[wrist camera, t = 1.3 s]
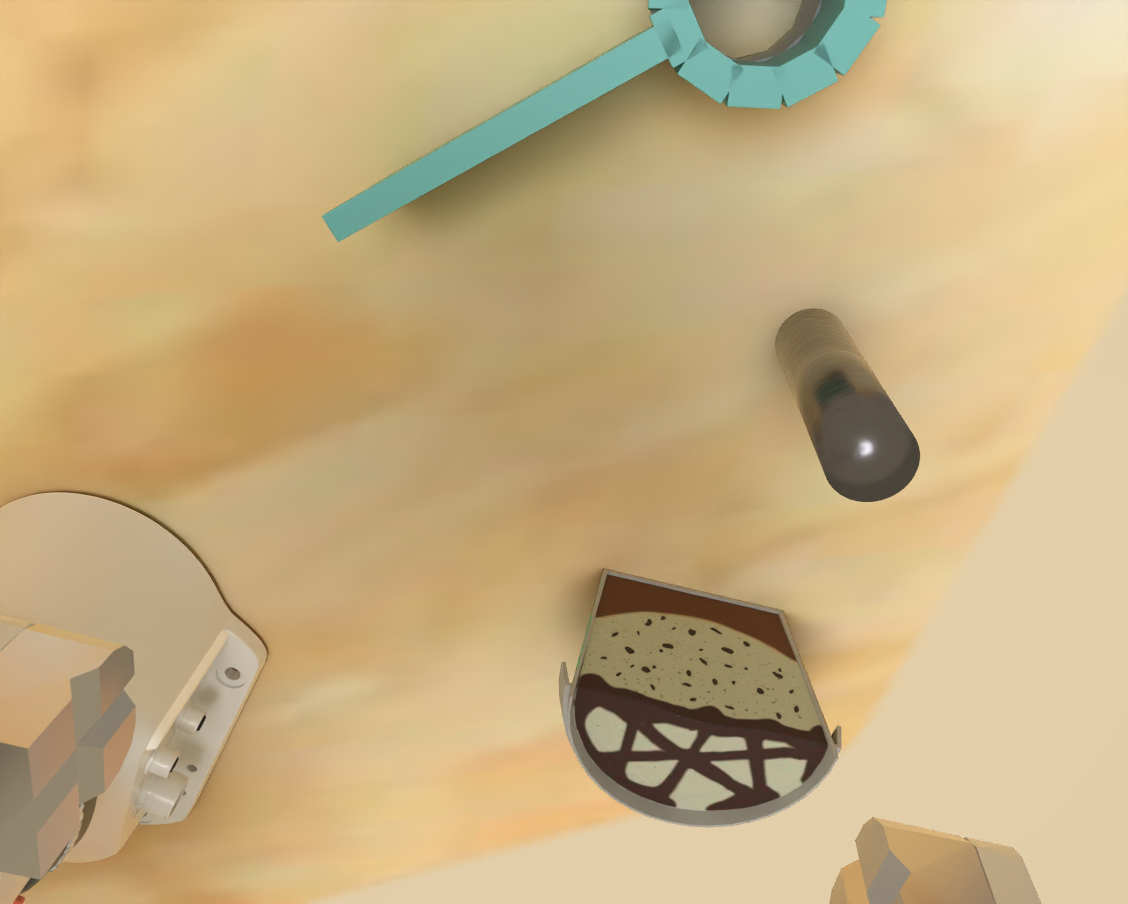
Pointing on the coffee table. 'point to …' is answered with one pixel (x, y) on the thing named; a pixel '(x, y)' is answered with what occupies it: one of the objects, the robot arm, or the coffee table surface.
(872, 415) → the hinge pin
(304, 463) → the coffee table surface
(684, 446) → the coffee table surface
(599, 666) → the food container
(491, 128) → the teal hinge knuckle plate
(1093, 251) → the coffee table surface
